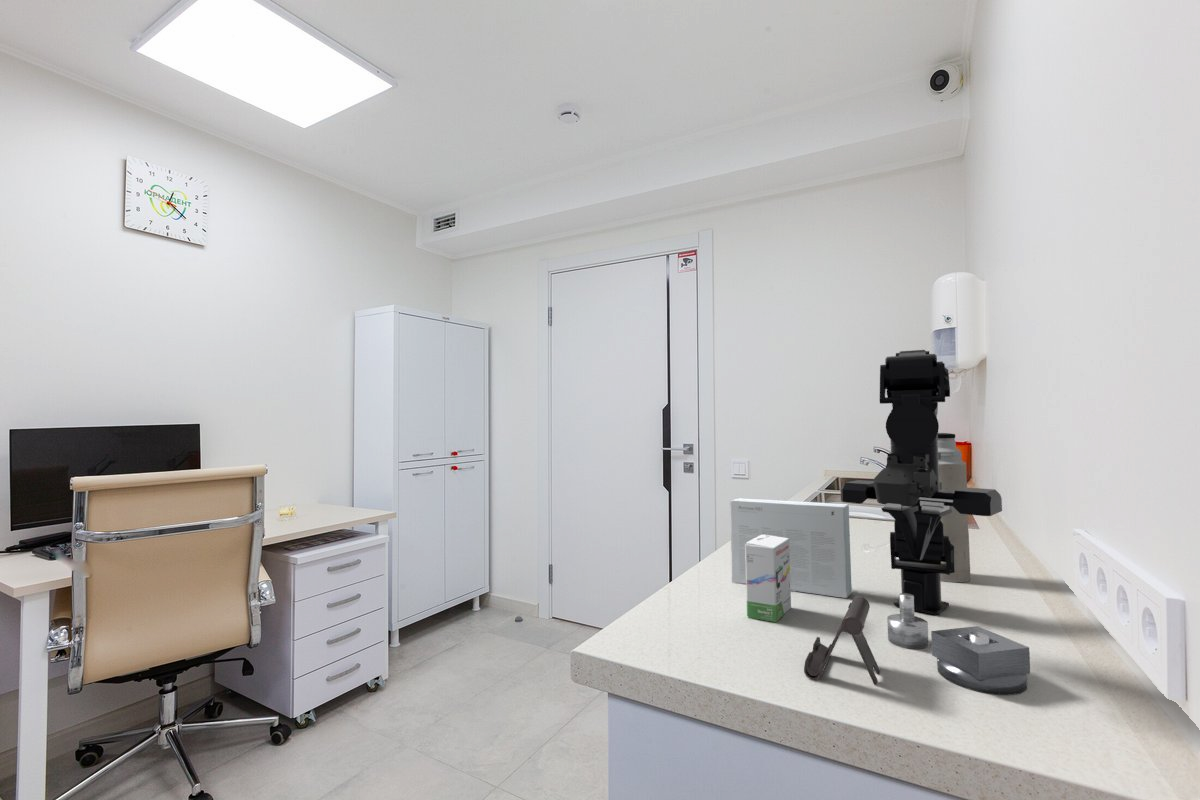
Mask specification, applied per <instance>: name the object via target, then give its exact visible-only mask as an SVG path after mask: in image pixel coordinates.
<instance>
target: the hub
mask: <svg viewBox="0 0 1200 800" xmlns="http://www.w3.org/2000/svg"><path fill="white" fill-rule="evenodd" d="M969 641H971V642H973V643H975V644H977V645H983V644H989V636H988V635H987V634H984V633H980V632H970V633H969ZM936 667H937V672H938V673H939V675H940V676H941V677H943V678H944V679H945V680H947V681H949V682H950V683H952V684H955V685H957V686H960V687H961V688H965V689H967V690H972V691H976V692H980V693H985V694H991V695H998V696H1003V695H1004V696H1010V695H1013V696H1014V695H1019V694H1021V693H1024V692H1025V691H1027V688H1028V678H1027V677H1028V674H1023V675H1015V676H1008V677H1000V678H993V679H985V680H978V679H976V678H975V677H973V676H971V675H969V674H967V673H965V672H963V671H961V670H959V669H957V668H955V667H954V666H952V665H950V664H948V663H946V662H944V661H942V660H940V659H938V658H936Z"/></svg>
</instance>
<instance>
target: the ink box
mask: <svg viewBox="0 0 1200 800" xmlns="http://www.w3.org/2000/svg"><path fill="white" fill-rule="evenodd" d="M746 543H747V544H745V562H746V584H745V588H746V616H747V617H748V618H749V619H755V620H762V621H765V622H766V621H767V622H772V623H777V622H778V621H779V620H780V619H781V618H782V617H783V616H784V615H785V614H786V613H787V612H788V611H789V610H790V609H791V608H792V594H791V593H792V591H791V585H790V544H789V538H784V537H777V536H771V535H760V536H758V537H756V538H754V539H752V540H750V541H748V542H746Z"/></svg>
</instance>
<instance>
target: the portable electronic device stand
mask: <svg viewBox="0 0 1200 800" xmlns="http://www.w3.org/2000/svg"><path fill="white" fill-rule="evenodd" d="M870 606H871V605H870V602H869V600H867V598H865V597H864V596H855V597H854V598H852V600H851V602H849V604H848V607H847V608H848V609H847V611H846V613H845V615H844V616H843V619H842V621H841V624H840V626H839V627H838V630H837V632H836V633H835V636H834V638H833V641H832V642H831V643H829V646H826V645H825V644H823V643H821V638H820V637H819V636H816V638H815V641H814V642H813V645H812V651H809V652H808V654H807V656H806V658H805V661H804V666H803V667H804V668H803V672H804V675H805V676H806V677H807V678H808V679H809V680H812V681H817V680H819V679H820V678H821V676H822V675H823V673H824V669H825V667H826V665H827V663H828V661H829V659H830V656H831V654H832V653H833V650H834V648H835V646H836V645H837V642H838V641H839V637H840V635H841V634H842V633H846V634H849V635H851V637H852V639H853V641H854V644H855V646H856V648H857V650H858V653H859V655H860V657H861V659H862V662H863V664H864V666H865V668H866V670H867V672H868V674H869V677H870V678H871V680H872V683H873V685H874V686H875V685H876V686H877V685H878V682H879V680H878V678H877V675H880V673H881V671H880V670H881V669H880V666H879V665H878V662H877V661H876V659H875V655H874V654H873V652H872V650H871V648H870V646H869V644H868V641H867V639H866V637H865V635H864V634H865V633H864V632H863V630H864V626H865V623H866V621H867V618H868V614H869V611H870ZM876 674H877V675H876Z"/></svg>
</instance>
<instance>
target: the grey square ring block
mask: <svg viewBox="0 0 1200 800" xmlns="http://www.w3.org/2000/svg"><path fill="white" fill-rule="evenodd" d="M970 632H980V633H984V634H987V635H988V636H989V644H983V645H977V644H975V643H973V642H971V641H969V633H970ZM930 635H931V641H930V642H931V656H933V657H934V658H936V659H937V658H938V659H940V660H942V661H944V662H946V663H948V664H950V665H952V666H954V667H955V668H957V669H959V670H961V671H963V672H965V673H967V674H969V675H971V676H973V677H975V678H976V679H978V680H985V679H993V678H1000V677H1008V676H1015V675H1023V674H1027V675H1028V674H1029V675H1030V674H1031V657H1030V647H1029V646H1026V645H1024V644H1022V643H1020V642H1017V641H1014V640H1012V639H1011V638H1008V637H1005V636H1003V635H1000V634H997V633H995V632H994V631H991V630H988V629H986V628H983V627H982V626H979V625H975V626H967V627H958V628H949V629H948V628H946V629H939V630H931V632H930Z"/></svg>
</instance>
